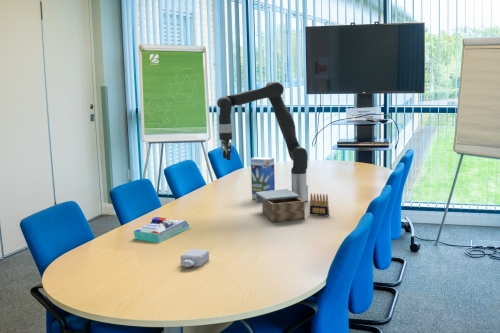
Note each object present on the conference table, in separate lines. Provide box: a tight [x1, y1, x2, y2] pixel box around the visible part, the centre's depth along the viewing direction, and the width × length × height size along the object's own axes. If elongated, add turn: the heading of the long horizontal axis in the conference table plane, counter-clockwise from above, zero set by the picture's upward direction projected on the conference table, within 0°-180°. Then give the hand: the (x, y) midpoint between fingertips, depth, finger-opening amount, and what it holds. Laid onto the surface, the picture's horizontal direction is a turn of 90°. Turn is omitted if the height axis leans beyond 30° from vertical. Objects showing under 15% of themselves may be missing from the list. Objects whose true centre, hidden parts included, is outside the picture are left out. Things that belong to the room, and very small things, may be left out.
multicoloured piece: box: [133, 216, 190, 243], centre depth 292 cm, size 17×30×9 cm, turn 155°
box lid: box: [255, 188, 299, 204], centre depth 324 cm, size 19×20×6 cm
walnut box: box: [261, 197, 306, 224], centre depth 315 cm, size 18×18×10 cm
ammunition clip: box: [309, 192, 330, 216], centre depth 317 cm, size 11×2×12 cm, turn 65°
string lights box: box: [250, 156, 276, 200], centre depth 364 cm, size 13×8×26 cm, turn 62°
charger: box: [179, 248, 210, 268], centre depth 242 cm, size 5×9×15 cm
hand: (226, 159), depth 338 cm, fingers open, 8 cm apart
